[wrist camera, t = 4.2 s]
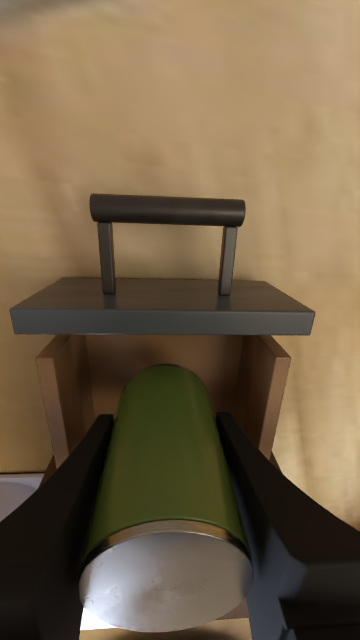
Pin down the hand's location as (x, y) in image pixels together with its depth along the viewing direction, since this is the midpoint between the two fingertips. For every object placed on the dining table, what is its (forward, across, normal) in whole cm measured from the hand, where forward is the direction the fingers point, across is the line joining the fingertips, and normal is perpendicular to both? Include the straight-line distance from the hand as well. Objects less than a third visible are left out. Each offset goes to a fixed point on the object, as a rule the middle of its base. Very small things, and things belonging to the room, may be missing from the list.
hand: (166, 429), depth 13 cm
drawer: (+7, 0, -2) cm, 7 cm away
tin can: (+2, 0, 0) cm, 2 cm away
